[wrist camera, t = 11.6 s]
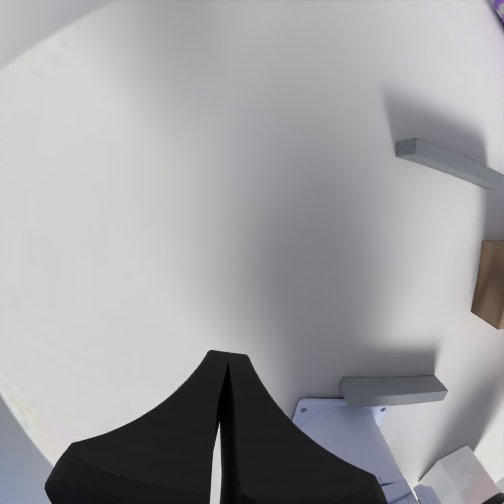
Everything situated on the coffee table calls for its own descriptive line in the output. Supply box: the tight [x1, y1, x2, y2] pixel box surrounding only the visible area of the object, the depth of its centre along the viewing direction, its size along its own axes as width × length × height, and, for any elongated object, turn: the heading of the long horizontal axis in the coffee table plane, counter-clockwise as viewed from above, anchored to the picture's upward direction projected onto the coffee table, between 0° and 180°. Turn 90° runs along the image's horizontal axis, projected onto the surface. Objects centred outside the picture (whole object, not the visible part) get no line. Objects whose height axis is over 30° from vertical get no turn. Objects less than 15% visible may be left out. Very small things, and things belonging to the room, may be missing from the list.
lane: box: [340, 138, 504, 407], centre depth 18 cm, size 18×9×2 cm, turn 171°
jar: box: [418, 445, 504, 504], centre depth 20 cm, size 9×8×12 cm
